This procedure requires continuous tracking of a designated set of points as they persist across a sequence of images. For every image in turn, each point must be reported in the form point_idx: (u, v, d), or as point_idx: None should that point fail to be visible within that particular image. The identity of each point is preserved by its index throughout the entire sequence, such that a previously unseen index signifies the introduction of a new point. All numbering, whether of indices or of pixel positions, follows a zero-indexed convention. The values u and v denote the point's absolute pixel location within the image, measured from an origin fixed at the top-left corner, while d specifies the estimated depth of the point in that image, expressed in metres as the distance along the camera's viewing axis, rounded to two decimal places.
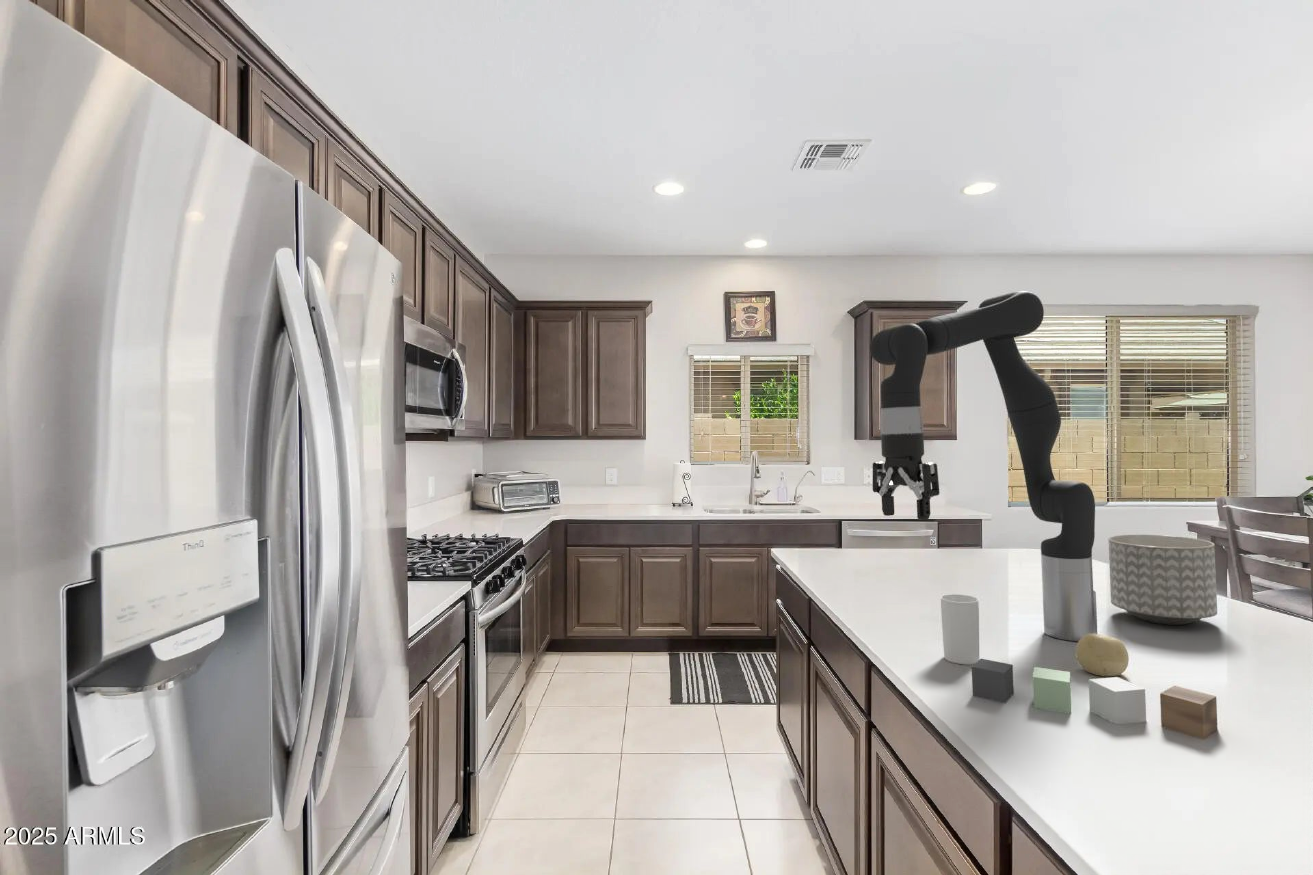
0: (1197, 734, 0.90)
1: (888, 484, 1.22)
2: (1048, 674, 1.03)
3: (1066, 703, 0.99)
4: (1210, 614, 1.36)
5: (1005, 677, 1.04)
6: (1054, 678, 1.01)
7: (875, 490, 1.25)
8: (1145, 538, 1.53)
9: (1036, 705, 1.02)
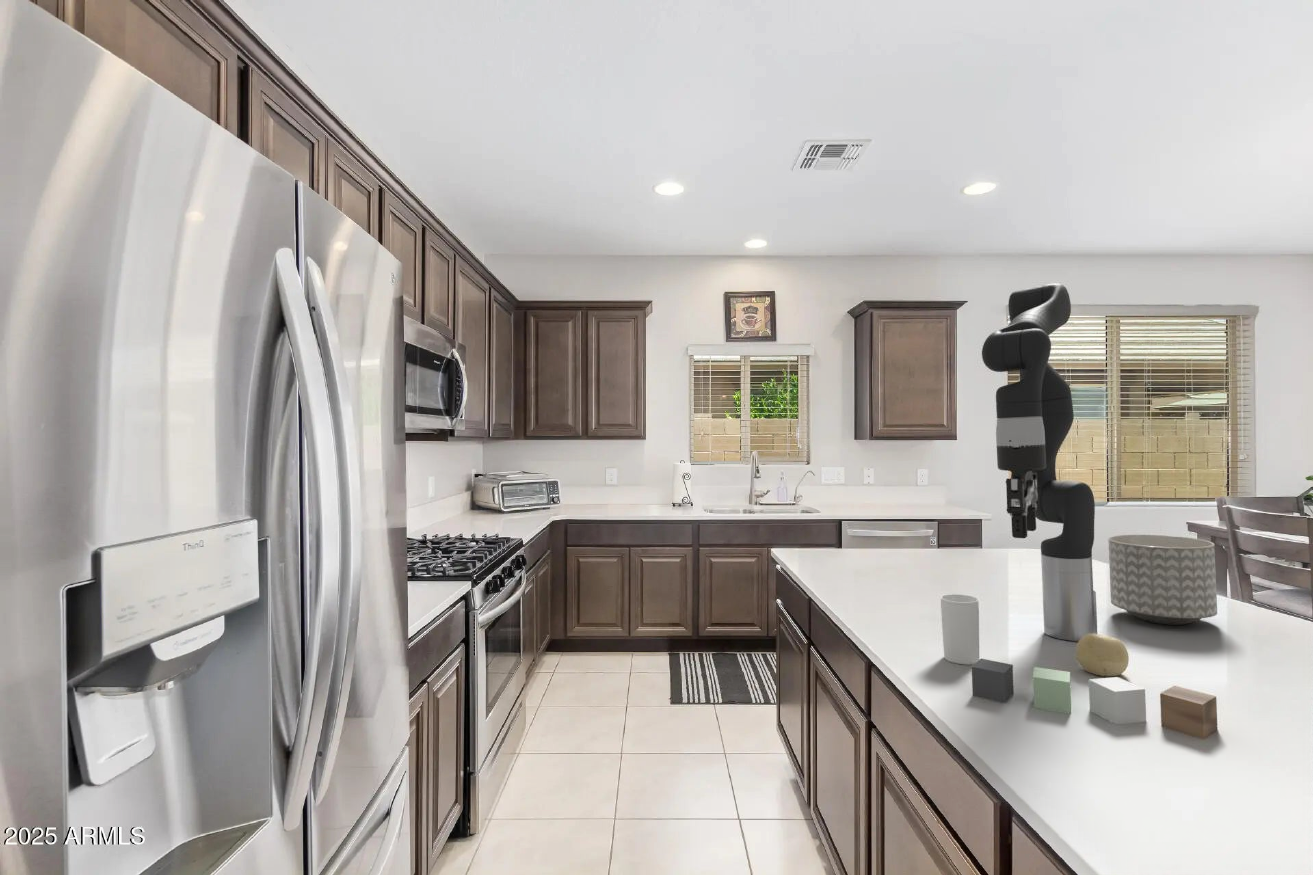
0: (1197, 734, 0.90)
1: None
2: (1048, 674, 1.03)
3: (1066, 703, 0.99)
4: (1210, 614, 1.36)
5: (1005, 677, 1.04)
6: (1054, 678, 1.01)
7: (1024, 511, 1.07)
8: (1145, 538, 1.53)
9: (1036, 705, 1.02)
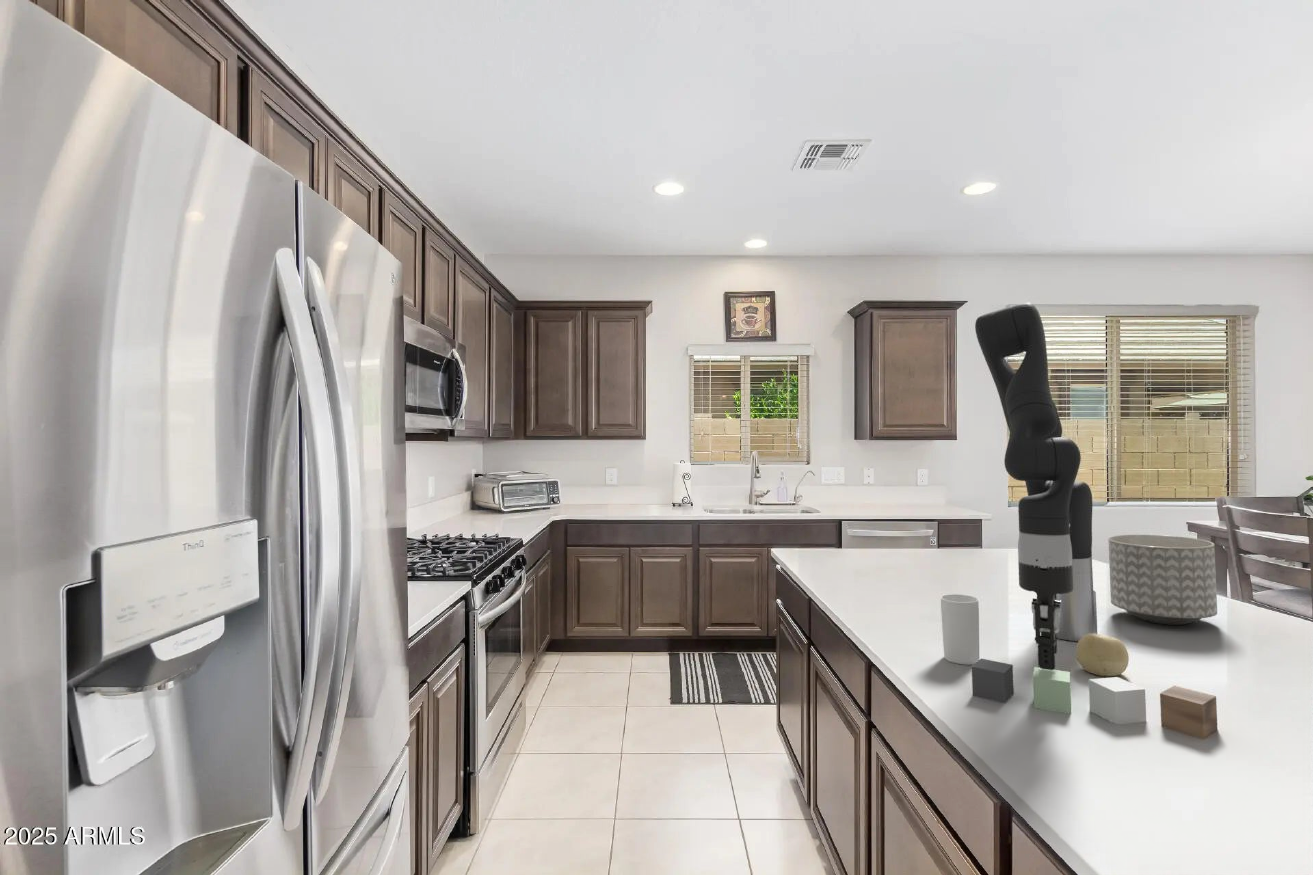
0: (1197, 734, 0.90)
1: None
2: (1048, 674, 1.03)
3: (1066, 703, 0.99)
4: (1210, 614, 1.36)
5: (1005, 677, 1.04)
6: (1054, 678, 1.01)
7: None
8: (1145, 538, 1.53)
9: (1036, 705, 1.02)
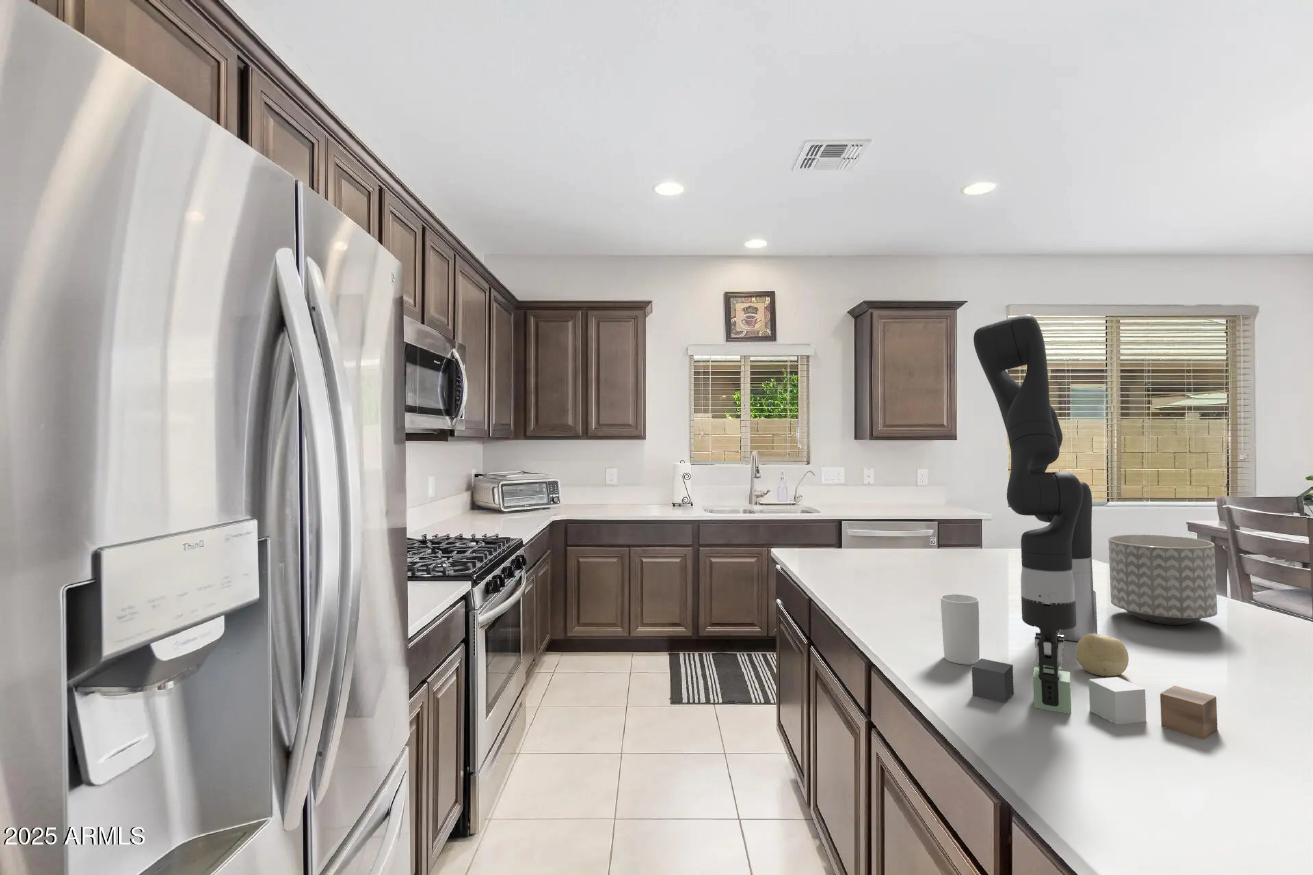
0: (1197, 734, 0.90)
1: None
2: None
3: (1066, 703, 0.99)
4: (1210, 614, 1.36)
5: (1005, 677, 1.04)
6: None
7: None
8: (1145, 538, 1.53)
9: (1036, 705, 1.02)
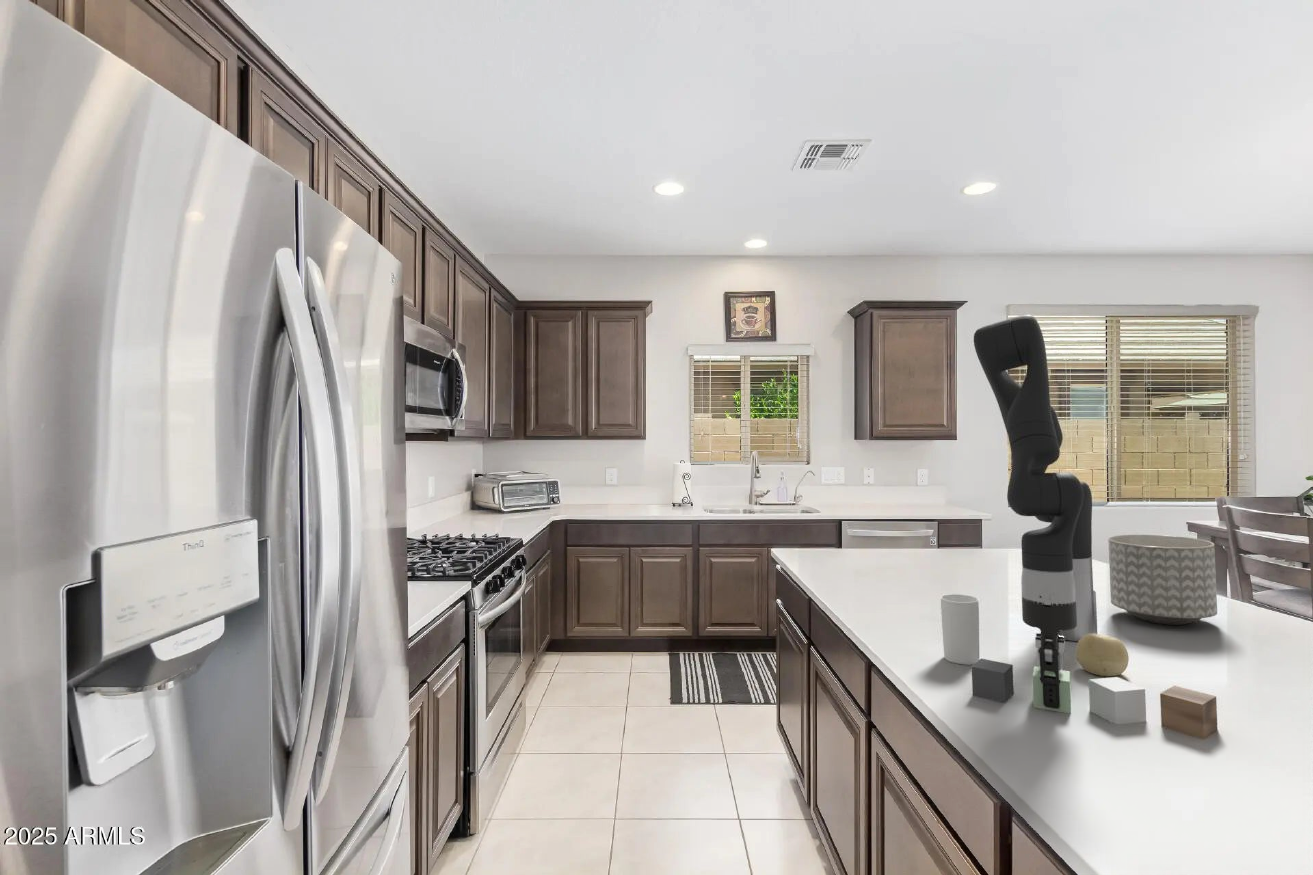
0: (1197, 734, 0.90)
1: None
2: (1048, 673, 1.03)
3: (1066, 702, 0.99)
4: (1210, 614, 1.36)
5: (1005, 677, 1.04)
6: None
7: None
8: (1145, 538, 1.53)
9: (1036, 704, 1.02)
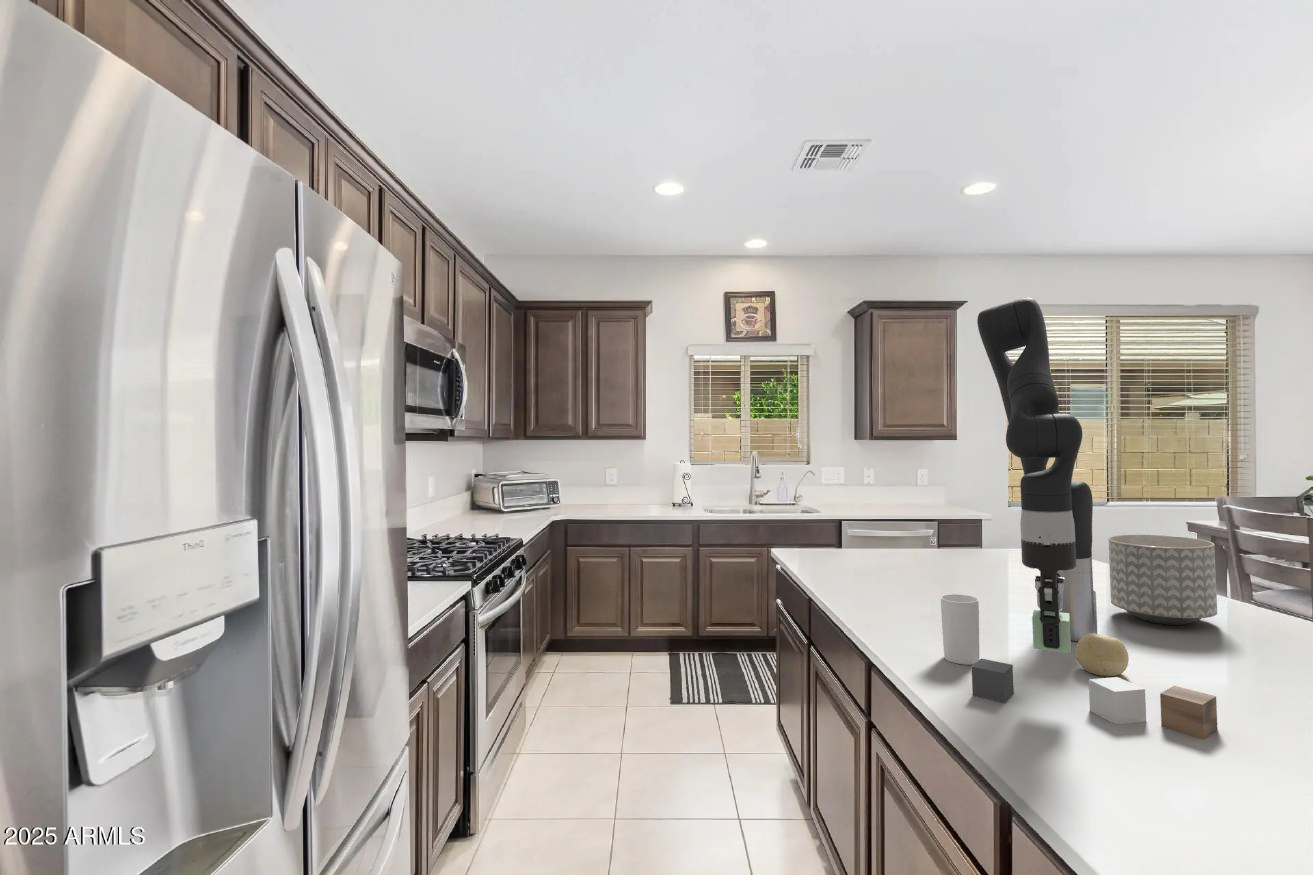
0: (1197, 734, 0.90)
1: None
2: None
3: (1066, 642, 0.99)
4: (1210, 614, 1.36)
5: (1005, 677, 1.04)
6: None
7: None
8: (1145, 538, 1.53)
9: (1036, 646, 1.02)
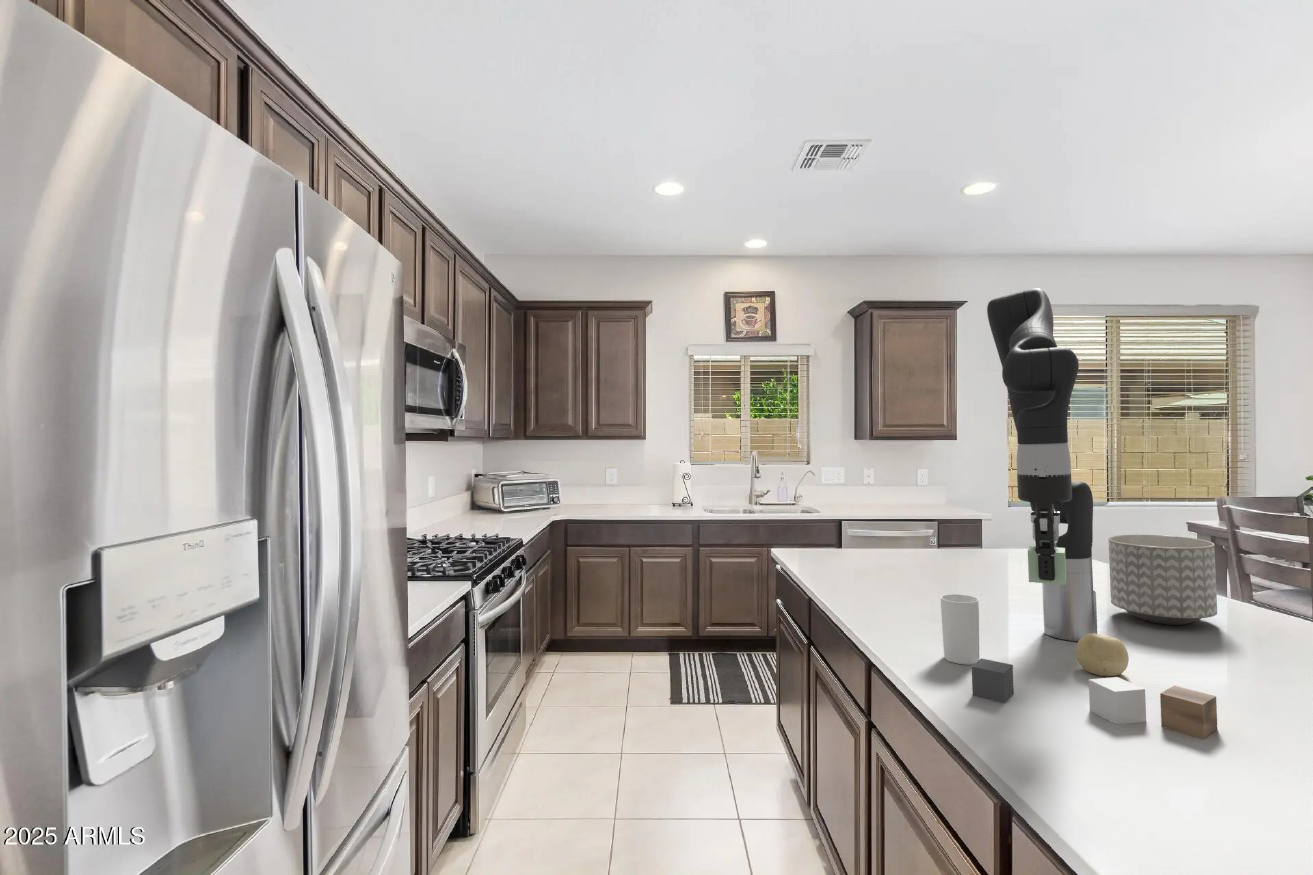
0: (1197, 734, 0.90)
1: None
2: None
3: (1061, 574, 1.00)
4: (1210, 614, 1.36)
5: (1005, 677, 1.04)
6: None
7: None
8: (1145, 538, 1.53)
9: (1031, 579, 1.02)
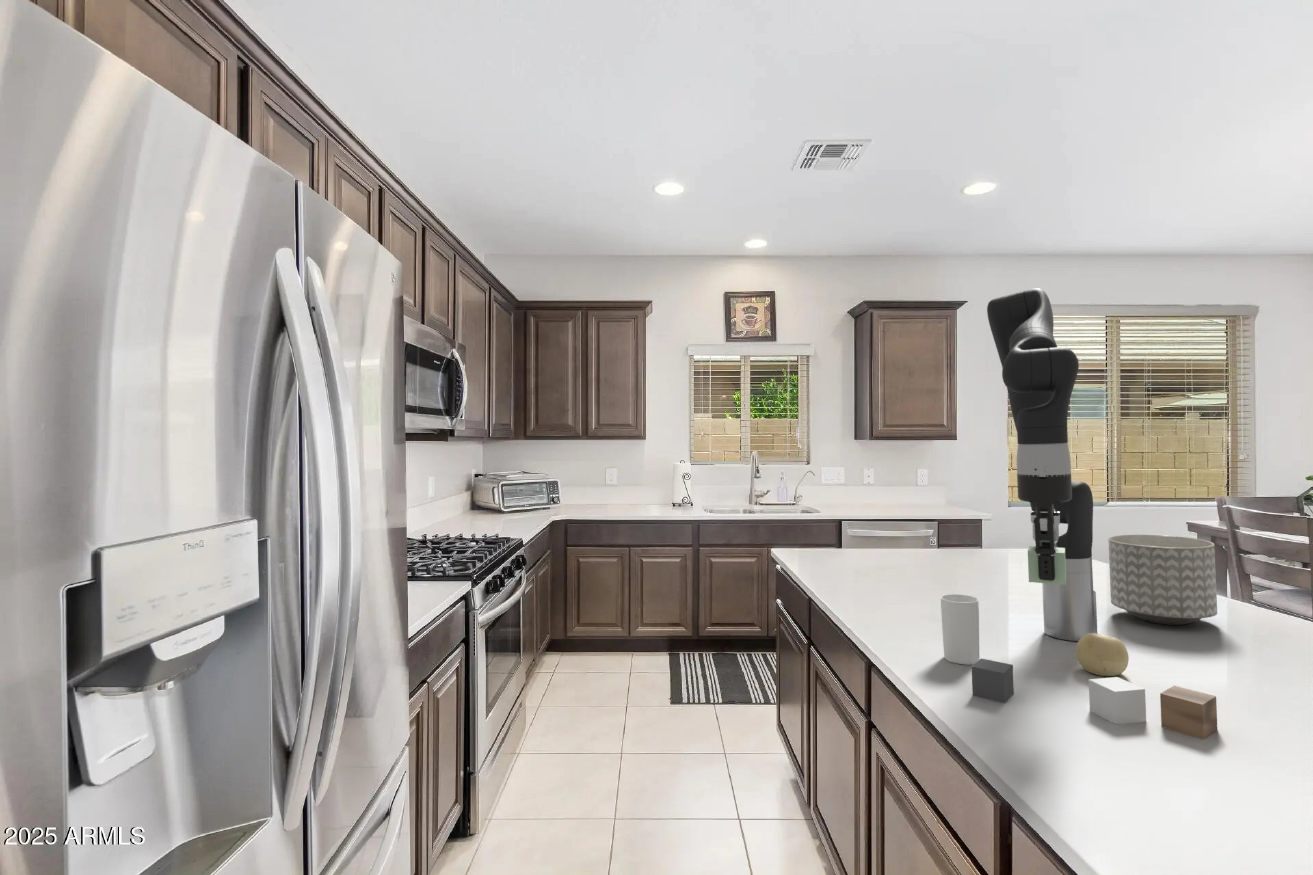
0: (1197, 734, 0.90)
1: None
2: None
3: (1061, 574, 1.00)
4: (1210, 614, 1.36)
5: (1005, 677, 1.04)
6: None
7: None
8: (1145, 538, 1.53)
9: (1031, 579, 1.02)
